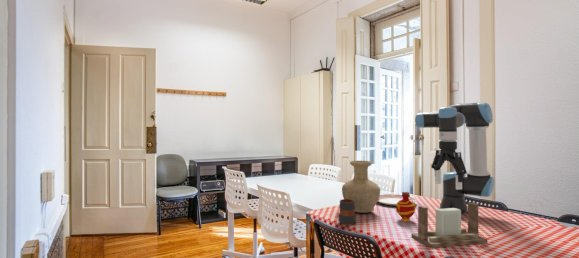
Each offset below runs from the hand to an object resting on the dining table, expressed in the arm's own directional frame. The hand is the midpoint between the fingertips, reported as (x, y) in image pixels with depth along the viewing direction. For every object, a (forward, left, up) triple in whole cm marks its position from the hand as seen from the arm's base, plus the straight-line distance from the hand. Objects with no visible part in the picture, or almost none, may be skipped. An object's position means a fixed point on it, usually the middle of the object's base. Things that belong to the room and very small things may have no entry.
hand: (448, 186), depth 150 cm
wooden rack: (+3, +4, -23) cm, 24 cm away
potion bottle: (+4, -28, -23) cm, 36 cm away
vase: (+20, -50, -23) cm, 58 cm away
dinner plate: (-12, -66, -23) cm, 70 cm away
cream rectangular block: (+3, +4, -21) cm, 22 cm away
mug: (+36, -32, -23) cm, 53 cm away
